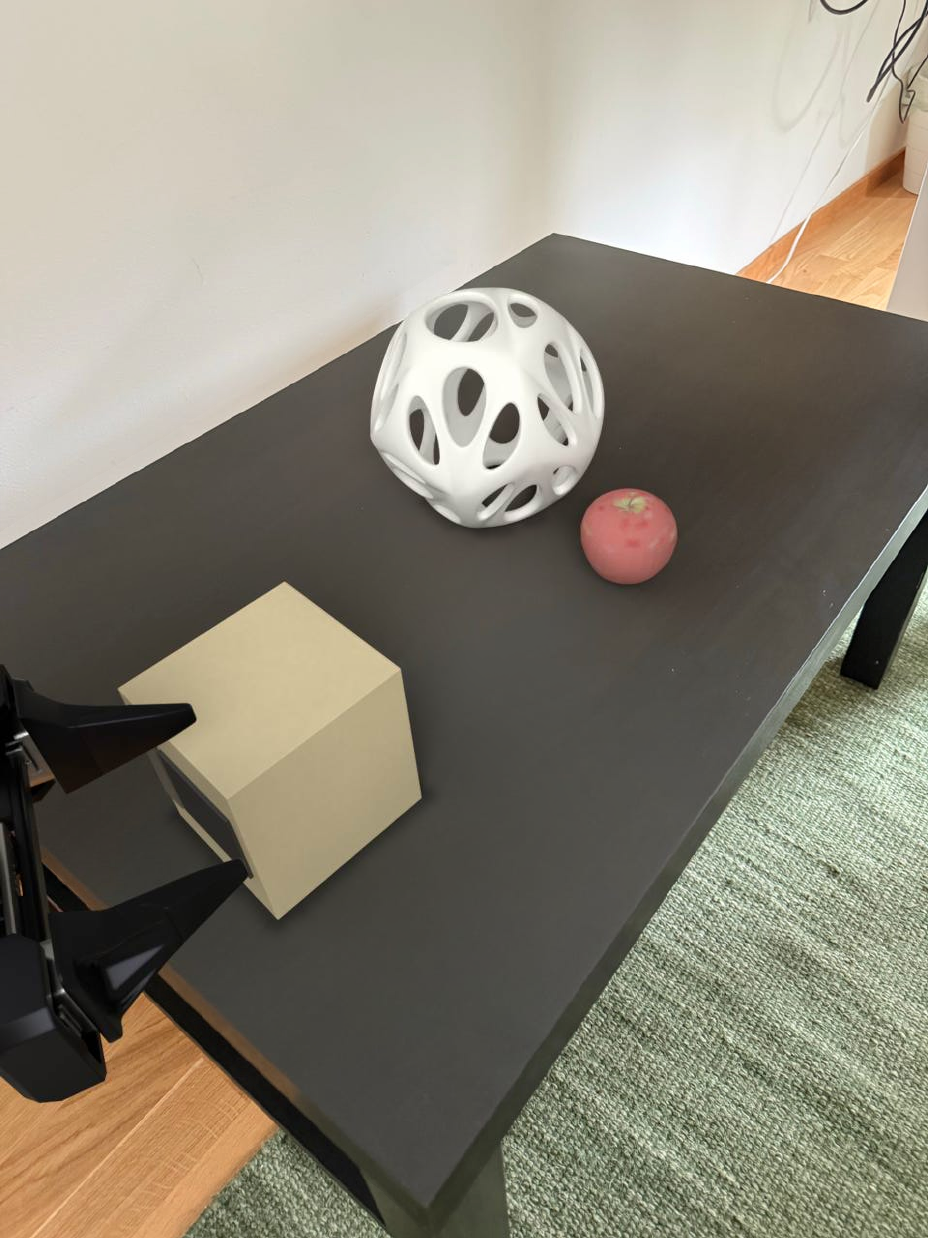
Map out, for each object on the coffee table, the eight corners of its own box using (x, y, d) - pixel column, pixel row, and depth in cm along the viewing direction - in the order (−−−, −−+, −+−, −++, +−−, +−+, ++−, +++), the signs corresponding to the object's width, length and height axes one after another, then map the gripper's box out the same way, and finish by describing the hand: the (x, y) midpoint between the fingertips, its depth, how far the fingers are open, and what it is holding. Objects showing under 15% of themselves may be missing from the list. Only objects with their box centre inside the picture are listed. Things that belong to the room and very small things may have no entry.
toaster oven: (274, 923, 56) (222, 802, 47) (176, 817, 62) (113, 690, 53) (422, 798, 62) (401, 668, 53) (319, 711, 68) (284, 580, 59)
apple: (628, 531, 80) (634, 454, 74) (689, 577, 75) (701, 498, 70) (560, 567, 77) (562, 490, 71) (619, 616, 73) (626, 538, 67)
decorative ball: (384, 577, 78) (354, 394, 65) (377, 442, 92) (351, 271, 79) (621, 551, 78) (635, 365, 66) (578, 421, 92) (583, 247, 80)
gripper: (-330, 1084, 25) (229, 854, 29) (-265, 643, 37) (123, 524, 42) (-124, 1194, 33) (294, 1001, 37) (-126, 799, 45) (189, 687, 49)
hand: (218, 783), depth 41 cm, fingers open, 9 cm apart
